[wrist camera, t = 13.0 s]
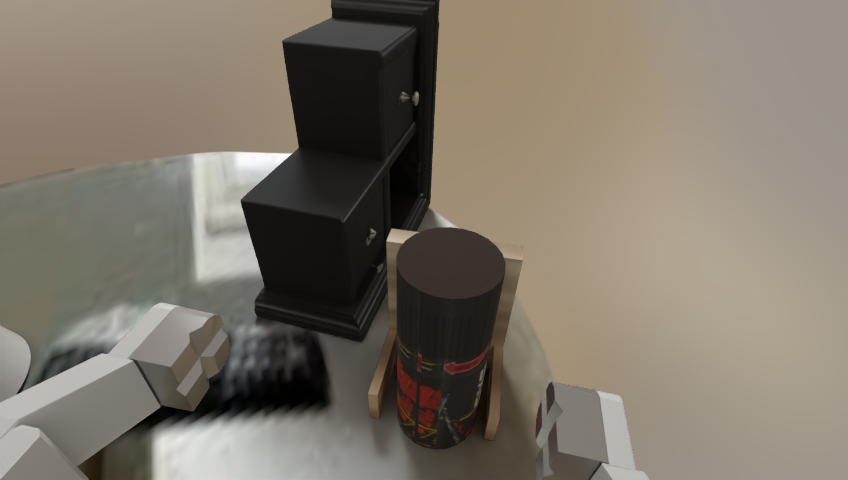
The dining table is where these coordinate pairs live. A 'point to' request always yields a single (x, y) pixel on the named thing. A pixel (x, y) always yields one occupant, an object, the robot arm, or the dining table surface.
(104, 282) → the dining table surface
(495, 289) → the deodorant
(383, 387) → the rack
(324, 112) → the bookend
